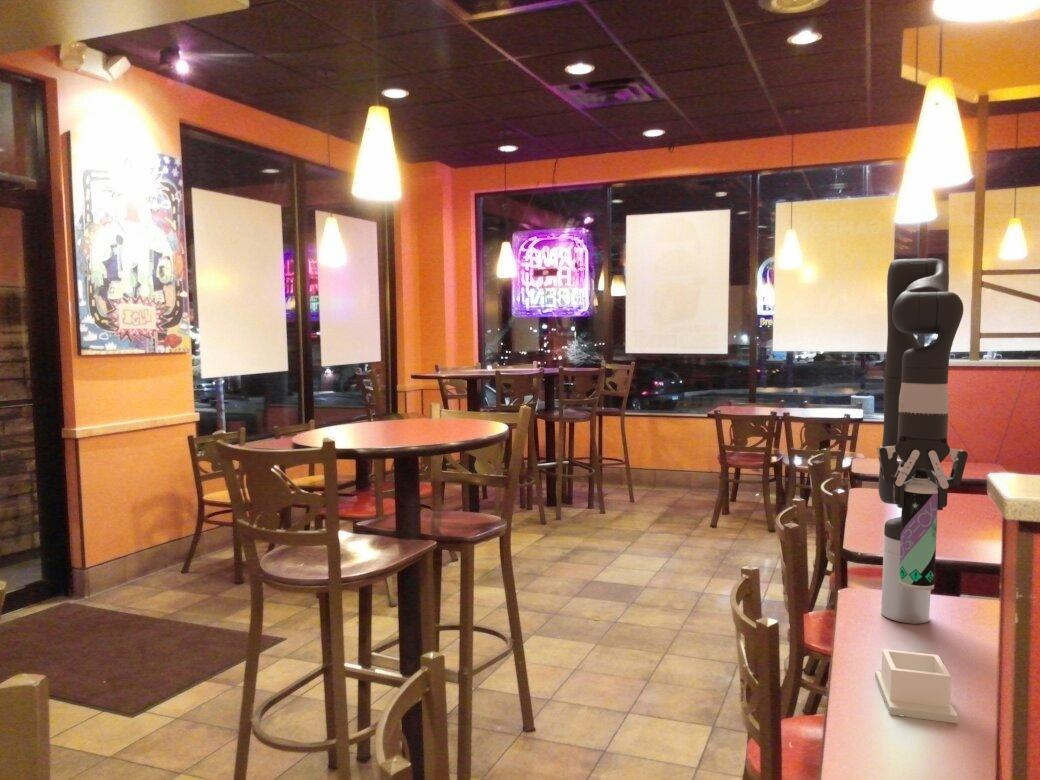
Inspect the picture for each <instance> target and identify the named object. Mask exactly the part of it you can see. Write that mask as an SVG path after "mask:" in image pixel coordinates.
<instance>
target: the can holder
mask: <svg viewBox="0 0 1040 780" xmlns="http://www.w3.org/2000/svg"><path fill="white" fill-rule="evenodd" d="M875 677H876V678H875ZM874 678H875V681H876V680H877V681H876V683H877V682H878V683H877V686H878V685H879V686H878V688H879V687H880V689H879V690H881V691H880V693H882V694H881V696H882V695H883V696H882V699H883V698H884V699H883V702H884V701H885V702H884V704H885V703H886V704H885V707H886V706H887V707H886V709H888V710H887V712H888V711H889V712H888V714H895V715H894V716H897V715H903V716H902V717H904V716H907V717H906V718H913V719H921V720H928V721H937V722H944V723H952V724H958V713H957V712H956V711H955V708H954V707H953V705H952V703H951V688H952V687H951V685H952V676H951V673H950V672H949V671H948V669H947V667H946V666H945V664H944V662H943V661H942V659H941V657H940V656H939V655H938V654H930V653H922V652H916V651H915V652H913V651H906V650H905V651H903V650H897V649H896V650H894V649H885V648H882V651H881V670H875V674H874Z"/></svg>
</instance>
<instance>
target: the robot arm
mask: <svg viewBox="0 0 1040 780" xmlns="http://www.w3.org/2000/svg"><path fill="white" fill-rule="evenodd" d="M886 276H887V279H886V302H887V305H886V307H887V308H886V309H887V310H886V311H887V312H886V313H887V315H886V316H887V318H886V319H887V338H886V339H887V342H886V354H885V356H886V357H885V365H884V367H885V368H884V382H883V383H884V384H883V385H884V386H883V430H882V431H883V432H882V442H881V445H880V446H878V447H877V449H876V450H877V455H878V462H879V470H878V471H879V473H878V494H879V498H880V501H882V503H884V504H890V505H896V507H897V508H899V509H902V508H903V507H904V485H903V483H904V482H907V481H908V480H910V479H912V477H913V476H914V475H915V472H916V470H924V471H926V472H927V476H928V478H930V481H932V482H933V483H934V484H936V485H938V488H937V489H938V511H943V510H944V508H946V507H947V506H948V492H949V491H948V490H949V488H951V487H954V486H957V487H958V486H959V485H961V484H962V483H961V482H962V479H963V475H964V471H965V468H966V465H967V464H966V463H967V459H968V456H969V454H968V452H967V451H966V450H964V449H961V448H960V449H955V448H951V447H950V445H949V444H948V432H949V431H948V429H949V427H948V425H949V411H950V403H949V401H950V396H949V387H948V385H949V384H948V383H949V366H950V364H949V363H950V356H951V350H952V347H953V344H954V343H953V342H954V340H955V337H956V334H957V332H958V329H959V326H960V324H961V321H962V318H963V315H964V303H963V300H962V299H961V298H960V296H959V295H958V294H957V293H955V292H952V291H948V290H949V280H950V279H949V278H950V276H949V269H948V265H947V264H946V262H945V261H944V260H942V259H940V258H932V257H931V258H929V257H928V258H900V259H899V258H898V259H894V260H892V261H891V262H890V264H889V267H888V270H887V275H886ZM916 334H917V335H918V334H920V335H927V334H928V335H929V334H931V335H932V334H933V335H934V334H937V337H936V339H935V341H934V342H933V343H931V344H929V345H925V346H922V345H921V343H920V342H919V341H918V339H917V338H916V336H915V335H916ZM948 455H950V460H951V461H952V462H953V464H952V466H951V470H950V475H949V477H947V478H946V474H945V472H944V469H943V466H942V465H941V464H942V462H943V461H944V460H945V459H946V458H947V456H948ZM898 457H899V459H900V460H898ZM883 529H884V530H883V532H884V533H883V554H882V555H883V557H882V581H881V583H882V584H881V602H880V603H881V607H880V613H881V615H882V616H883V617H885V618H887V619H889V620H893V621H895V622H898V623H899V622H900V623H905V624H914V625H916V624H918V625H919V624H925V623H928V622H929V621H930V606H931V593H932V590H915V589H910V588H906V587H903V586H901V585H900V584H899V563H900V538H901V516H899V517H895V518H890V519H888V520H887V521H886V522H885V523H884V527H883Z"/></svg>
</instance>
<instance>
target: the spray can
mask: <svg viewBox="0 0 1040 780" xmlns="http://www.w3.org/2000/svg"><path fill="white" fill-rule="evenodd" d="M903 485H904V507H903V508H901V514H900V515H901V516H900V517H901V538H900V563H899V584H900V585H901V586H903V587H906V588H910V589H915V590H931V591H932V590H934V589H935V582H936V581H935V580H936V579H935V577H936V557H937V556H936V555H937V533H938V532H937V530H938V529H937V528H938V511H939V510H938V489H937V488H938V484H937V485H936V484H934V483H933V482H932V481H930V478H928V476H927V472H926V471H924V470H916V472H915V475H914V476H913V477H912V479H910V480H908V481H907V482H904V483H903Z"/></svg>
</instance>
